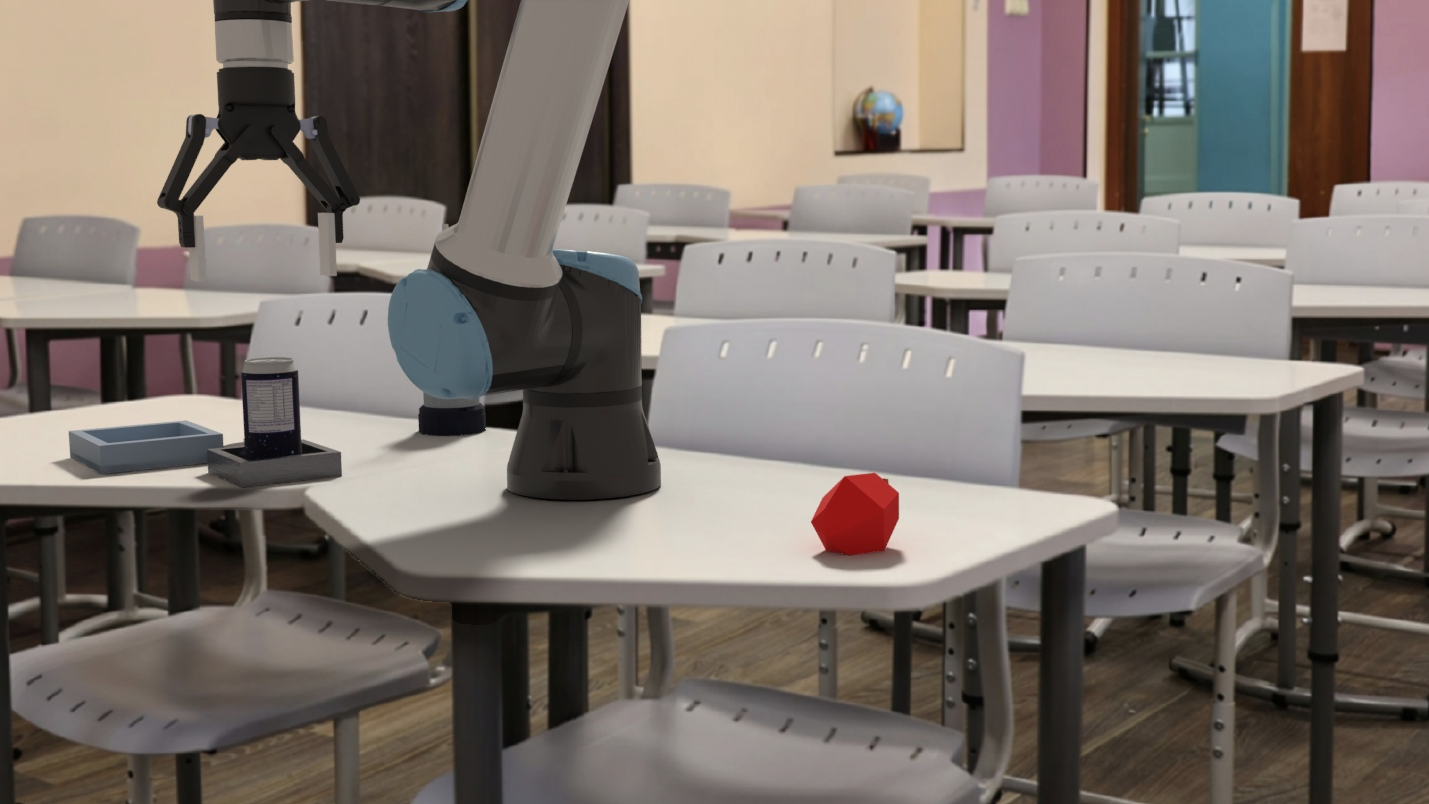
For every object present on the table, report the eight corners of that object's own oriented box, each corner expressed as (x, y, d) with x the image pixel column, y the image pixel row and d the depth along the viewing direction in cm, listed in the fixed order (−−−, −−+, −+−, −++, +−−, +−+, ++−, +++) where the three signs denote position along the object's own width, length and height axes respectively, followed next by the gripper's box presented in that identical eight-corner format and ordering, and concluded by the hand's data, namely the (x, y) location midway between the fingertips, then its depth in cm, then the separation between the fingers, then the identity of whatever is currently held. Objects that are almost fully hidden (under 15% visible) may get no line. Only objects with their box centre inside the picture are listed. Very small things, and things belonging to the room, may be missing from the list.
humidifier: (464, 423, 203) (458, 223, 200) (498, 431, 197) (493, 223, 193) (406, 430, 198) (398, 224, 195) (439, 438, 192) (432, 225, 188)
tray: (224, 461, 177) (222, 433, 177) (101, 474, 170) (99, 445, 169) (187, 445, 188) (186, 420, 187) (70, 457, 180) (68, 431, 180)
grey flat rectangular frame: (341, 475, 167) (340, 450, 167) (241, 487, 161) (240, 461, 161) (282, 454, 181) (281, 431, 181) (188, 464, 175) (187, 440, 175)
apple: (836, 496, 126) (902, 449, 130) (783, 500, 131) (848, 454, 136) (871, 574, 127) (935, 524, 132) (817, 574, 133) (880, 526, 137)
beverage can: (314, 472, 169) (309, 358, 168) (274, 481, 165) (268, 363, 163) (275, 468, 172) (269, 355, 171) (234, 476, 167) (228, 361, 166)
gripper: (358, 72, 173) (365, 271, 176) (117, 65, 159) (130, 281, 162) (386, 68, 167) (393, 274, 170) (139, 60, 153) (151, 285, 156)
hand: (265, 278), depth 166 cm, fingers open, 13 cm apart
